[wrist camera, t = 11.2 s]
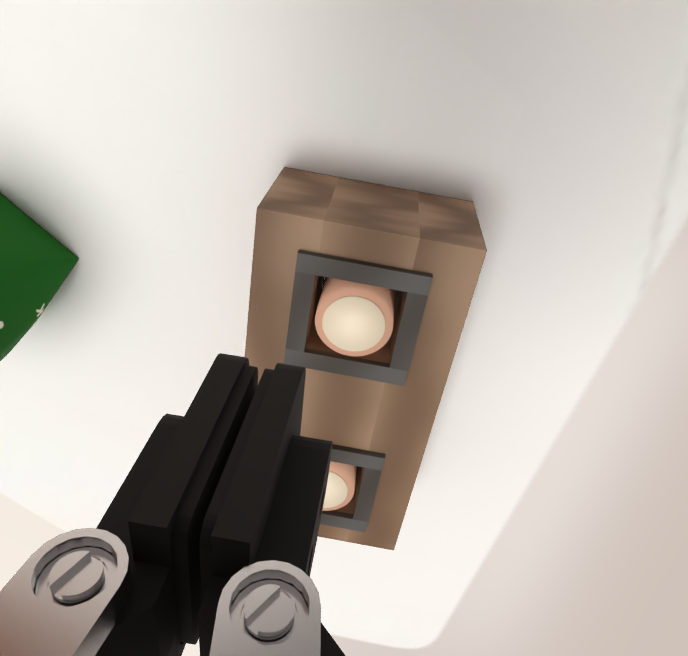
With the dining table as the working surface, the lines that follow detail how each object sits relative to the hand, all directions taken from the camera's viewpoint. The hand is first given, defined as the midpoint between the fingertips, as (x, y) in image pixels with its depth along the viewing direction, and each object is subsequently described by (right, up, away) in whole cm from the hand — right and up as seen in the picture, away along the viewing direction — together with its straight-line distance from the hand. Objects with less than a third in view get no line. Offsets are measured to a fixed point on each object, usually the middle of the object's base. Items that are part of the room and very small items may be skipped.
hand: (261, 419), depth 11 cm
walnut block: (+2, +1, +28) cm, 28 cm away
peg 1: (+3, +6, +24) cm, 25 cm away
